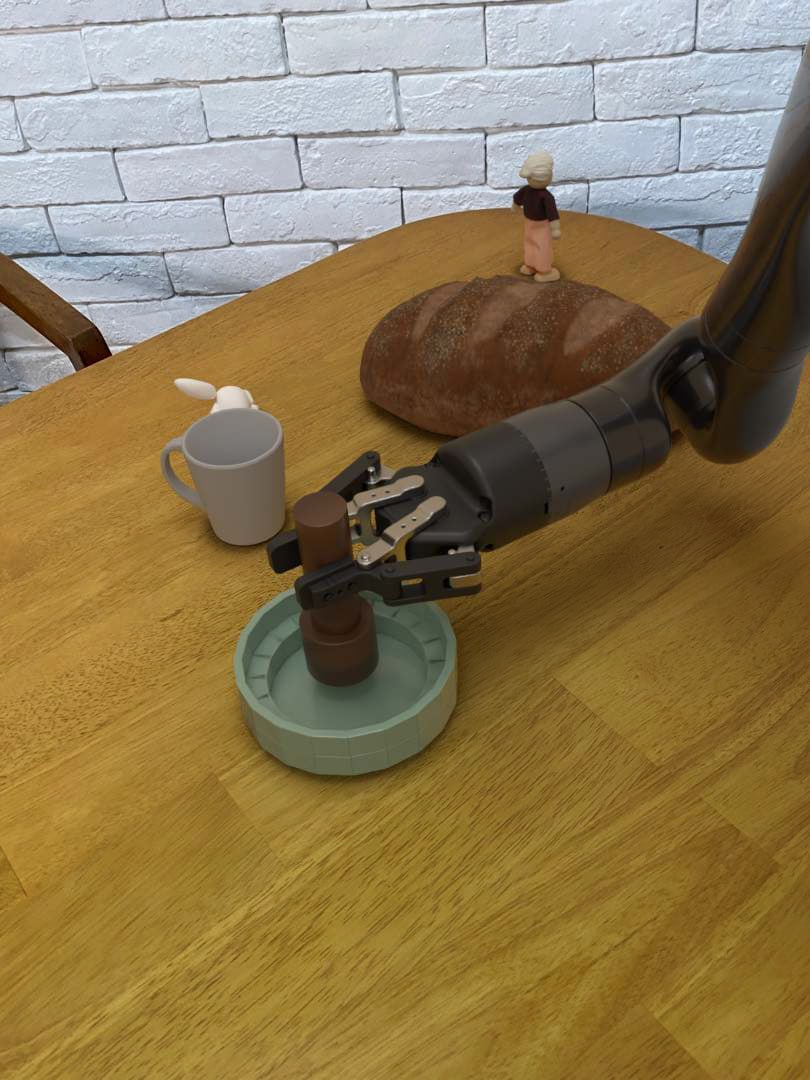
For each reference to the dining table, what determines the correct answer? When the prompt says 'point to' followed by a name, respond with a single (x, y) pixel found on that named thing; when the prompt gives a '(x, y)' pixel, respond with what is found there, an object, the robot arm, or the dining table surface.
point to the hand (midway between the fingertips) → (285, 577)
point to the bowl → (347, 689)
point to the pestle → (345, 626)
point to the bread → (499, 349)
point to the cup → (234, 473)
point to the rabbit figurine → (216, 394)
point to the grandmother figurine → (538, 217)
